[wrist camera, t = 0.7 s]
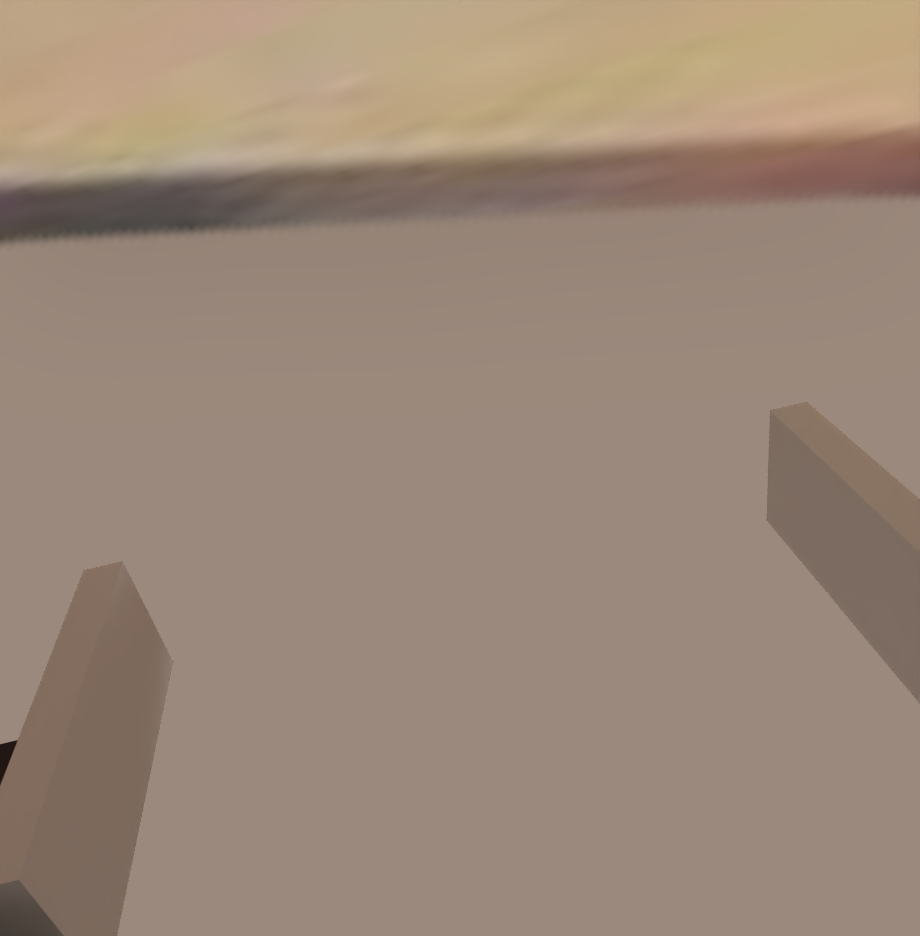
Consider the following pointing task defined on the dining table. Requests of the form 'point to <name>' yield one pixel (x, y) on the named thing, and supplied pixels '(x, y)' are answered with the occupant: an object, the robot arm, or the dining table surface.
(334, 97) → the dining table surface
